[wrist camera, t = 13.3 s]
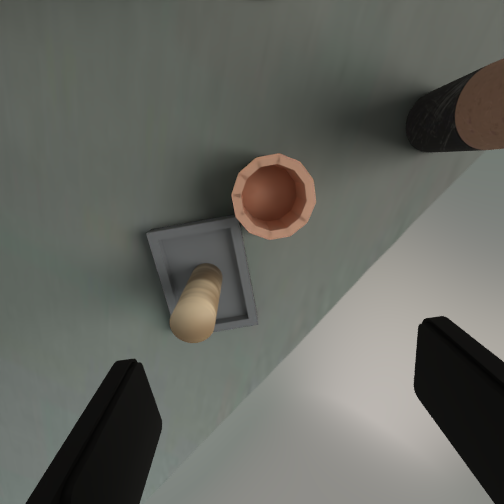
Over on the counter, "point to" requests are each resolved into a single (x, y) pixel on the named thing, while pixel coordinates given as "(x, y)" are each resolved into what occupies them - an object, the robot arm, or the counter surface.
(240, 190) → the cup
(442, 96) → the travel mug
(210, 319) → the peg
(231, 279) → the tray
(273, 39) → the counter surface
